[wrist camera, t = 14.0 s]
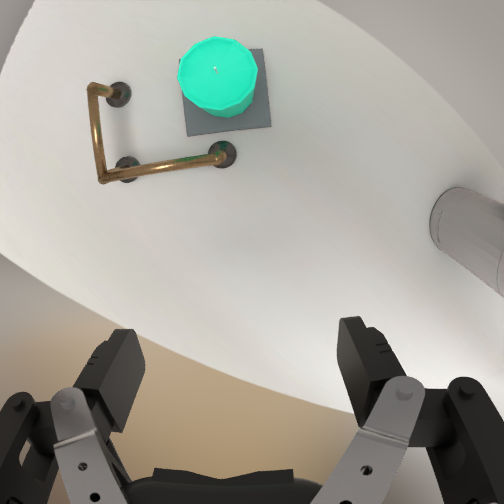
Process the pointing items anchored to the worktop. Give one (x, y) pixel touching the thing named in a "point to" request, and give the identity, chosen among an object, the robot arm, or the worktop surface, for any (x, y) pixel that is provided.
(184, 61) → the candle
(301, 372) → the worktop surface
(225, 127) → the coaster
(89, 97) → the handrail
